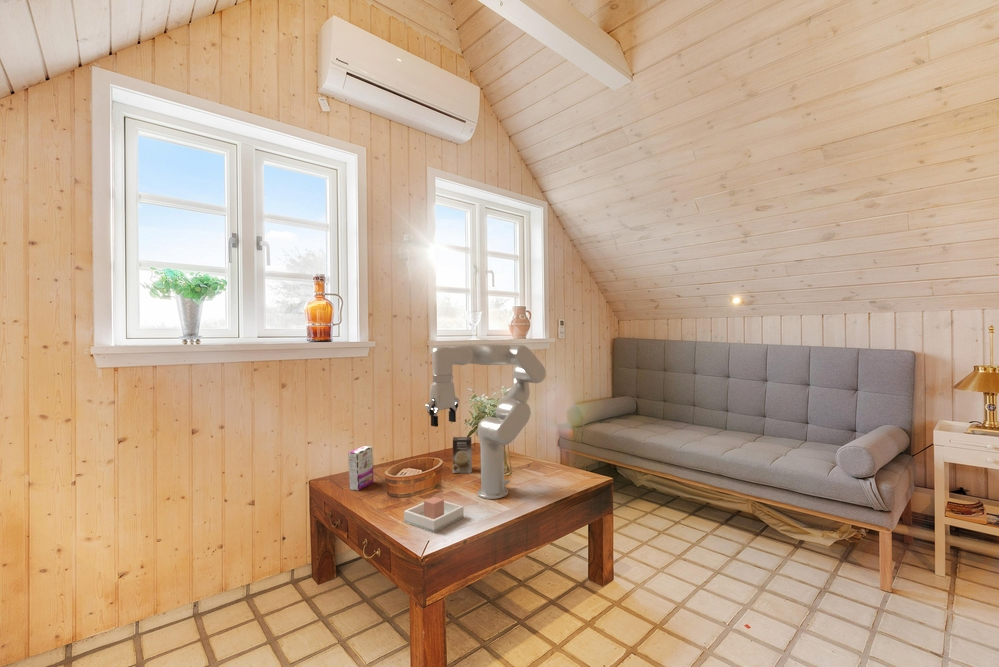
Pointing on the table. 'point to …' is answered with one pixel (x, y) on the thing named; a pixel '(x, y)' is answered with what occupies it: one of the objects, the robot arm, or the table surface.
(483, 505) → the table surface
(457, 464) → the coffee box
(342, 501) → the table surface
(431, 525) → the tray
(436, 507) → the pink block
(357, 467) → the candy bar box
